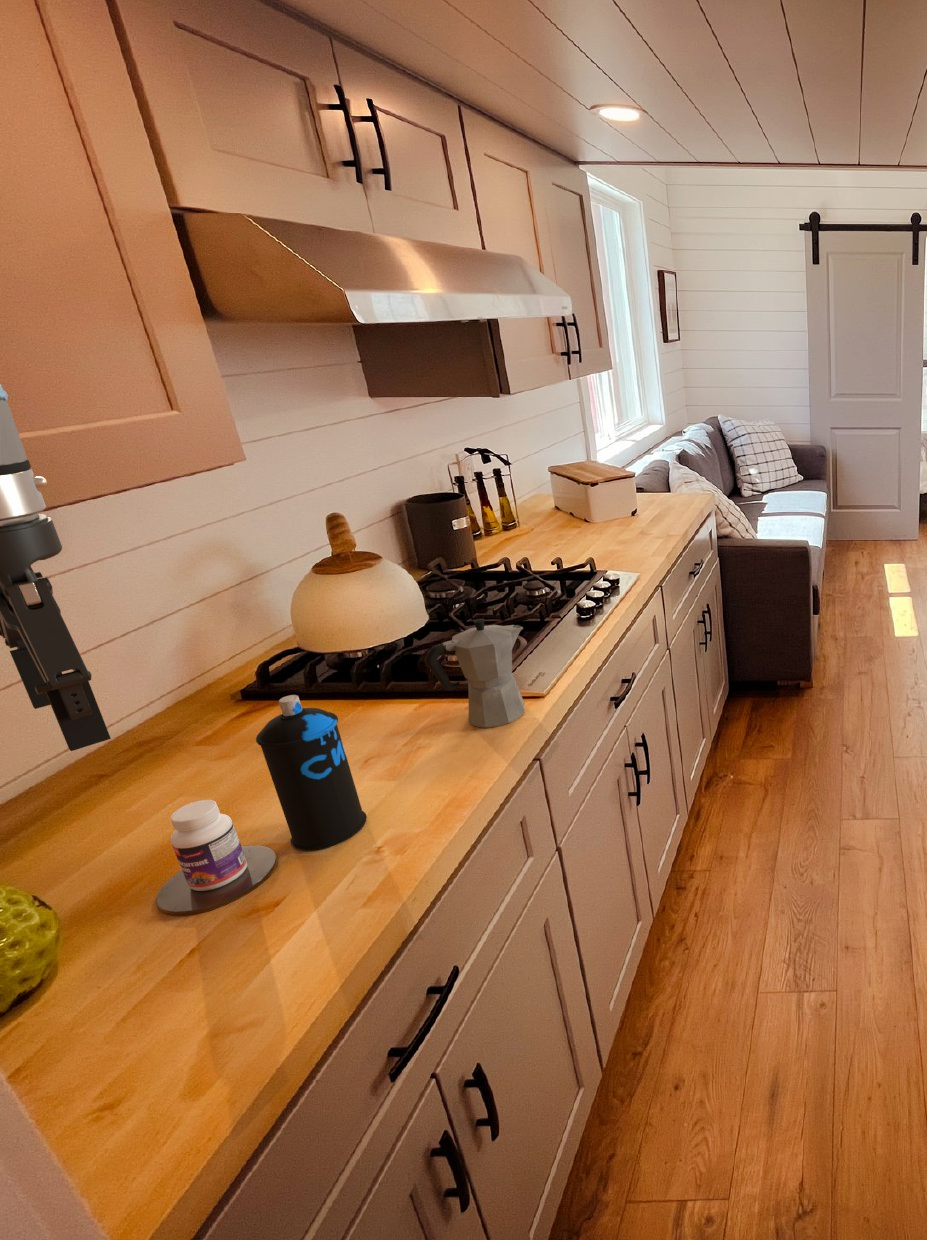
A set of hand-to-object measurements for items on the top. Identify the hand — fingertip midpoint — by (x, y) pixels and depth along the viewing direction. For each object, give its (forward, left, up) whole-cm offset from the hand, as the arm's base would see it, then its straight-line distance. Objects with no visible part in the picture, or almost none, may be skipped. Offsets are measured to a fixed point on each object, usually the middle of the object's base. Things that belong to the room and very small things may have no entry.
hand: (70, 722), depth 71 cm
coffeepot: (+27, +38, -26) cm, 53 cm away
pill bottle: (+4, +5, -25) cm, 26 cm away
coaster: (+4, +5, -26) cm, 26 cm away
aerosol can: (+13, +12, -26) cm, 31 cm away
